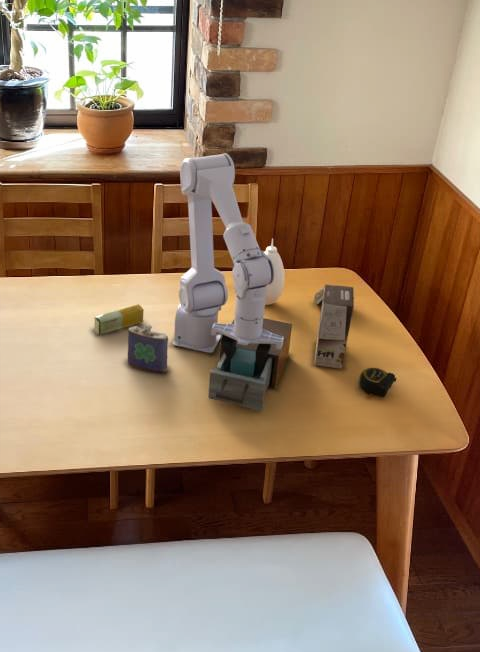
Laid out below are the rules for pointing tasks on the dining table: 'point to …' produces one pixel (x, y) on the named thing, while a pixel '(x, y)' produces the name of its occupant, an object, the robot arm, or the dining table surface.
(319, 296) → the fossilized seashell
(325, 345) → the coffee box
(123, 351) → the dining table surface
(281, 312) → the dining table surface
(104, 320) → the medication box
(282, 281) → the sauce bottle
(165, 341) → the flask
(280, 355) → the cabinet
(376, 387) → the tape measure
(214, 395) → the drawer
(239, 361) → the block
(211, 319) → the robot arm
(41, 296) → the dining table surface
